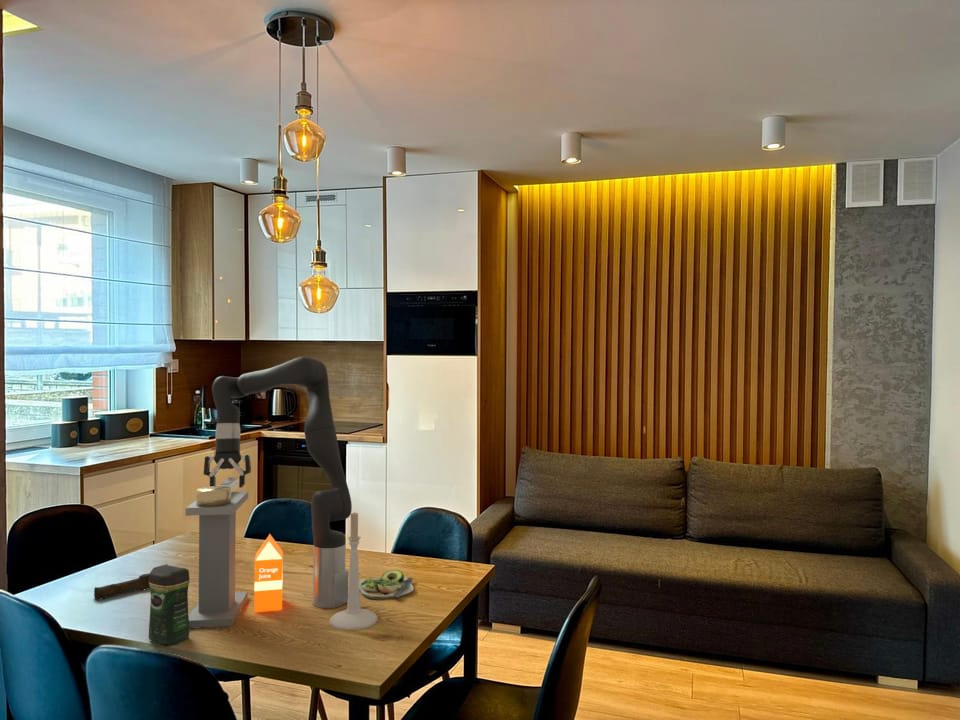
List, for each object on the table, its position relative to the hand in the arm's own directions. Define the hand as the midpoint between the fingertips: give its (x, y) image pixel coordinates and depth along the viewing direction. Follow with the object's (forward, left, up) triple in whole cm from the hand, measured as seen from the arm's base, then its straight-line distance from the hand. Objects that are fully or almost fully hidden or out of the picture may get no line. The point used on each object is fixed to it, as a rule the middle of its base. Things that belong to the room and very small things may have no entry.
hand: (227, 488), depth 222 cm
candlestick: (-57, +8, -30) cm, 65 cm away
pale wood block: (-17, +17, +2) cm, 24 cm away
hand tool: (+19, +21, -31) cm, 42 cm away
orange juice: (-28, +10, -30) cm, 43 cm away
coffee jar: (-23, +40, -30) cm, 55 cm away
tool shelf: (-19, +21, -30) cm, 42 cm away
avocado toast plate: (-50, -18, -31) cm, 61 cm away
